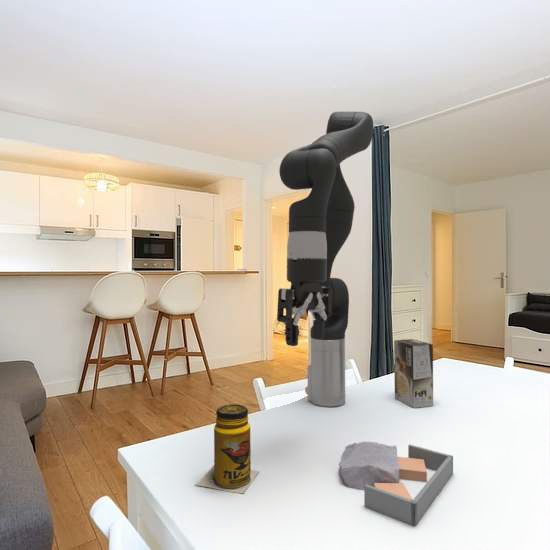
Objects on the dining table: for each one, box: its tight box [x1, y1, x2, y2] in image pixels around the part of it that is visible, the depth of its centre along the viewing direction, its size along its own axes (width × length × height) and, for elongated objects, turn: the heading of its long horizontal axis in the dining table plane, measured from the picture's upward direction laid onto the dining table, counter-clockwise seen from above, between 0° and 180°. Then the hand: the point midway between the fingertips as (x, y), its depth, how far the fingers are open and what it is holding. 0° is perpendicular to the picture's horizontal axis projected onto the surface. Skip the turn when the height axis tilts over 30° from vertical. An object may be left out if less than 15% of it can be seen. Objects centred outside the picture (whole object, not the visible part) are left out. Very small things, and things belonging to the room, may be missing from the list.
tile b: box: [397, 456, 428, 483], centre depth 68 cm, size 4×4×2 cm
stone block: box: [338, 441, 400, 491], centre depth 68 cm, size 12×5×10 cm
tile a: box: [374, 482, 413, 500], centre depth 60 cm, size 4×4×2 cm
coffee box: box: [393, 338, 434, 409], centre depth 106 cm, size 9×6×16 cm
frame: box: [363, 444, 454, 527], centre depth 63 cm, size 8×18×3 cm, turn 141°
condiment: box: [194, 403, 260, 494], centre depth 67 cm, size 7×8×12 cm
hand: (305, 342), depth 75 cm, fingers open, 8 cm apart
